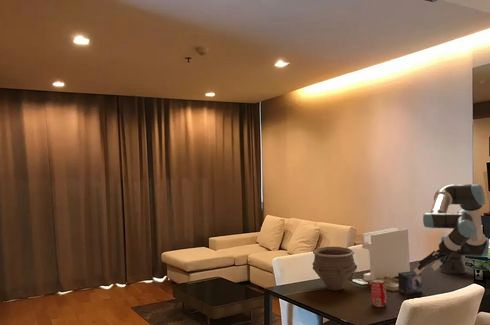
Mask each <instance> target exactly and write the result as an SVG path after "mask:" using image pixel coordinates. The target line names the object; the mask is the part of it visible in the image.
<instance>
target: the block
mask: <svg viewBox="0 0 490 325" xmlns="http://www.w3.org/2000/svg"><path fill="white" fill-rule="evenodd" d="M361 245H362V246H361V247H362V249H366V250H368V251H369V266H370V268H369V269H370V272H368V273H367V272H366V273H363V281H366V282H369V280H371V279H376V278H380V277H385V276H387V277H390V278H396V277H398V273H401V272H410V271H411V267H410V265H411V264H410V242H409V229H408V228H402V229H399V227H393V228H387V229H382V230H376V231H370V232H365V233H364V232H363V233H361Z"/></svg>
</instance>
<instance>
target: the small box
mask: <svg viewBox="0 0 490 325" xmlns="http://www.w3.org/2000/svg"><path fill="white" fill-rule="evenodd" d="M397 277H398V278H397V279H398V280H399V291H398V293H401V294H403V295H405V296H406V295H407V296H408V295H415V294H416V295H417V294H422V293H423V285H422V284H423V282H422V280H423V279H422V273H421V272H420V273H419V274H418V275H417V274H416V272H415V271H414V270H413V271H411V270H410V272H401V273H398V276H397Z"/></svg>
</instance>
